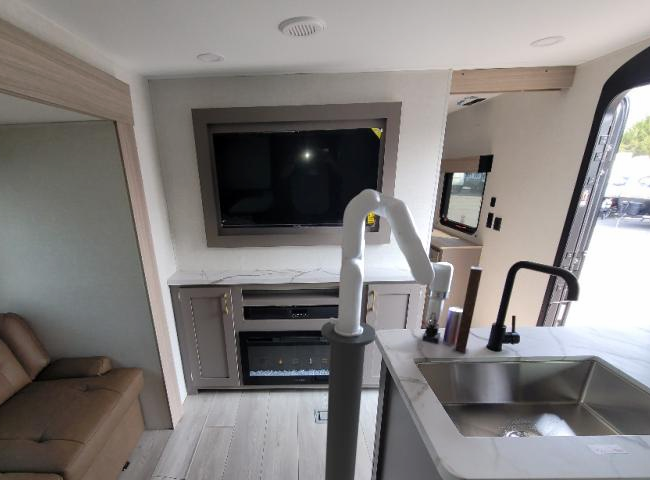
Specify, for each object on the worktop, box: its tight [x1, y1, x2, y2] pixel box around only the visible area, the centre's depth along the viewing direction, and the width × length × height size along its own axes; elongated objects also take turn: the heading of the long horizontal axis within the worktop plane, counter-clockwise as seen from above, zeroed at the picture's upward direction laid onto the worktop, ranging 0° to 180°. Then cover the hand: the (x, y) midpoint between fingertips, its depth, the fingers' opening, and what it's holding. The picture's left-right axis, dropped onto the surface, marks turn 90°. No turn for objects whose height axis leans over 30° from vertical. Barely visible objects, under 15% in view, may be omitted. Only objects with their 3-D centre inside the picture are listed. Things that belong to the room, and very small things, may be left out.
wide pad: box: [422, 329, 441, 344], centre depth 138 cm, size 6×6×2 cm
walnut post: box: [454, 265, 484, 354], centre depth 124 cm, size 4×4×34 cm
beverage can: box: [442, 306, 463, 346], centre depth 133 cm, size 6×6×15 cm
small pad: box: [425, 322, 440, 335], centre depth 137 cm, size 4×4×3 cm
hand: (431, 333), depth 138 cm, fingers closed on small pad, 4 cm apart
